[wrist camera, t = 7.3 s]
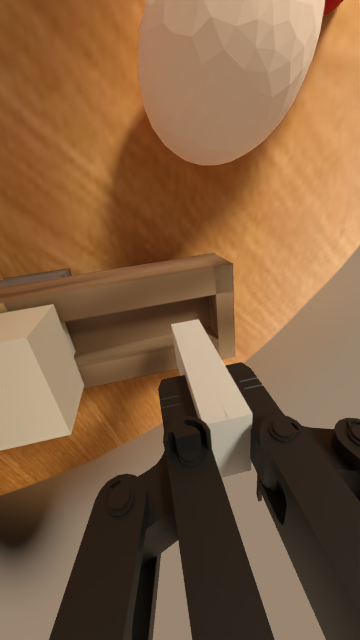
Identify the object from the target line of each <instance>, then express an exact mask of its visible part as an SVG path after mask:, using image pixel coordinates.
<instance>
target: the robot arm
mask: <svg viewBox="0 0 360 640" xmlns="http://www.w3.org/2000/svg"><path fill="white" fill-rule="evenodd" d="M171 327H172V334H173V341H174V347H175V354H176V361H177V367H178V370H179V374H180V376H177V377H172V378H167V379H163V380H162V381H161V383H160V386H159V388H158V391H159V398H160V405H161V412H162V419H163V426H164V437H163V443H164V447H165V451H164V454H163V456H162V458H161V459H160V460H159V462H158V463H157V464H156V465H155V466H153V467H152V468H151V469H150V470H148V471H147V472H145V473H143V474H142V475H140V476H138V477H137V476H135V475H131V474H123V475H118V476H116V477H114V478H113V479H111V480H109V481H108V482H107V483H106V484H105V485H104V486H103V487H102V489H101V490H100V492H99V494H98V496H97V498H96V500H95V502H94V506H93V509H92V512H91V515H90V518H89V521H88V524H87V527H86V530H85V533H84V536H83V539H82V542H81V545H80V548H79V551H78V554H77V557H76V560H75V563H74V566H73V569H72V572H71V575H70V578H69V581H68V584H67V587H66V590H65V593H64V596H63V599H62V602H61V605H60V608H59V611H58V614H57V617H56V620H55V624H54V626H53V629H52V632H51V636H50V639H49V640H152V638H153V629H154V619H155V609H156V599H157V588H158V578H159V567H160V558H161V553H162V552H163V551H164V550H166V549H167V548H168V547H170V546H171V545H172V544H173V543H175V542H176V541H177V540H179V547H180V554H181V562H182V569H183V575H184V583H185V590H186V597H187V605H188V612H189V618H190V626H191V633H192V640H274V637H273V634H272V631H271V628H270V625H269V622H268V619H267V616H266V613H265V610H264V607H263V604H262V600H261V597H260V594H259V591H258V588H257V585H256V582H255V579H254V576H253V573H252V570H251V567H250V564H249V561H248V558H247V555H246V552H245V548H244V546H243V542H242V540H241V536H240V533H239V530H238V527H237V524H236V521H235V518H234V515H233V512H232V509H231V506H230V503H229V500H228V497H227V494H226V491H225V487H224V484H223V482H222V479H221V478H222V477H226V476H230V475H234V474H238V473H241V472H245V471H249V470H251V461H252V463H253V465H254V467H255V469H256V472H257V498H258V501H261V500H262V496H263V498H264V500H265V503H266V505H267V507H268V509H269V512H270V514H271V516H272V518H273V521H274V523H275V525H276V528H277V530H278V532H279V534H280V537H281V539H282V541H283V543H284V546H285V548H286V550H287V552H288V555H289V557H290V559H291V561H292V564H293V566H294V568H295V570H296V573H297V575H298V577H299V579H300V582H301V584H302V586H303V588H304V591H305V593H306V595H307V598H308V600H309V602H310V604H311V607H312V609H313V611H314V613H315V616H316V618H317V620H318V622H319V625H320V627H321V629H322V631H323V634H324V636H325V638H326V640H360V419H357V418H345V419H342V420H339V421H338V422H337V424H336V425H335V428H334V429H320V428H310V427H304V426H301V425H300V424H299V423H298V422H297V421H296V420H294V419H292V418H290V417H288V416H285V415H284V414H283V413H282V411H281V410H280V409H279V407H278V406H277V404H276V403H275V402H274V400H273V399H272V398H271V396H270V395H269V393H268V392H267V391H266V389H265V388H264V386H262V383H261V382H260V381H259V379H257V377H256V375H255V374H254V372H253V371H252V370H251V368H249V367H248V366H246V365H245V364H243V363H241V362H240V363H235V364H231V365H226V366H225V365H224V363H223V361H222V359H221V358H220V356H219V354H218V352H217V351H216V349H215V347H214V345H213V344H212V342H211V340H210V338H209V337H208V335H207V333H206V331H205V330H204V328H203V326H202V324H201V323H200V321H199V319H197V320H191V321H186V322H181V323H175V324H171Z"/></svg>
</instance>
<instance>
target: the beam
mask: <svg viewBox="0 0 360 640" xmlns="http://www.w3.org/2000/svg"><path fill="white" fill-rule="evenodd" d="M51 304H54V307H55V309H56V312H57V315H58V317H59V320H60V322H65V324H66V327H67V330H68V332H69V335H70V338H71V341H72V343H73V346H74V349H75V351H76V352H75V354H74V360H75V362H76V365H77V367H78V370H79V373H80V375H81V378H82V381H83V383H84V388H83V389H85V388H90V387H94V386H99V385H104V384H109V383H113V382H118V381H123V380H128V379H132V378H137V377H142V376H147V375H151V374H156V373H161V372H166V371H170V370H175V369H178V367H177V361H176V354H175V347H174V341H173V334H172V327H171V324H175V323H181V322H186V321H191V320H197V319H199V321H200V323H201V324H202V326H203V328H204V330H205V331H206V333H207V335H208V337H209V338H210V340H211V342H212V344H213V345H214V347H215V349H216V351H217V352H218V354H219V356H220V358H221V359H227V358H232V357H235V325H234V285H233V264H232V263H231V262H229V261H227V260H225V259H223V258H222V257H220V256H218V255H216V254H215V253H211V254H204V255H198V256H192V257H186V258H180V259H173V260H167V261H161V262H155V263H149V264H142V265H136V266H130V267H124V268H118V269H111V270H105V271H99V272H93V273H87V274H80V275H74V276H71V273H70V270H69V269H63V270H56V271H50V272H44V273H37V274H31V275H25V276H18V277H12V278H6V279H4V280H2V281H0V313H5V312H11V311H17V310H22V309H28V308H34V307H40V306H46V305H51Z"/></svg>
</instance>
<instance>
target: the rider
mask: <svg viewBox="0 0 360 640" xmlns="http://www.w3.org/2000/svg"><path fill="white" fill-rule="evenodd" d="M75 352H76V351H75V349H74V346H73V343H72V341H71V338H70V335H69V332H68V330H67V327H66V324H65V322H60V320H59V317H58V315H57V312H56V309H55V307H54V304H51V305H46V306H40V307H34V308H28V309H22V310H17V311H11V312H5V313H0V451H2V450H6V449H10V448H15V447H19V446H23V445H28V444H32V443H36V442H41V441H45V440H49V439H54V438H58V437H63V436H67V435H71V433H72V429H73V426H74V422H75V418H76V414H77V411H78V407H79V403H80V399H81V396H82V392H83V388H84V383H83V381H82V378H81V375H80V373H79V370H78V367H77V365H76V362H75V360H74V354H75Z"/></svg>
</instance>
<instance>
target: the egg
mask: <svg viewBox="0 0 360 640" xmlns="http://www.w3.org/2000/svg"><path fill="white" fill-rule="evenodd" d="M324 6H325V0H146V2H145V7H144V11H143V15H142V20H141V24H140V30H139V39H138V49H137V64H138V81H139V88H140V93H141V98H142V102H143V107H144V109H145V112H146V114H147V116H148V119H149V121H150V124H151V126H152V128H153V130H154V131H155V132H156V134H157V135H158V137H159V138H160V140H161V141H162V142H163V144H164V145H165V146H166V147H167V148H168V149H170V150H171V151H172V152H173V153H174V154H176V155H177V156H179V157H180V158H182V159H183V160H185V161H187V162H191V163H194V164H198V165H201V166H205V165H220V164H224V163H228V162H232V161H233V160H235V159H237V158H239V157H241V156H243V155H245V154H246V153H248V152H250V151H251V150H253V149H254V148H255V147H257V146H258V145H259V144H260V143H262V142H263V141H264V140H265V139H266V138H267V137H268V136H269V135H270V134H271V132H272V131H273V130H274V129H275V128H276V127H277V126H278V125H279V124H280V122H281V121H282V119H283V118H284V116H285V115H286V113H287V112H288V110H289V109H290V107H291V106H292V104H293V102H294V100H295V98H296V96H297V94H298V92H299V90H300V88H301V85H302V83H303V81H304V79H305V76H306V74H307V71H308V69H309V67H310V64H311V62H312V59H313V56H314V52H315V49H316V45H317V41H318V38H319V34H320V30H321V24H322V18H323V12H324Z"/></svg>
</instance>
